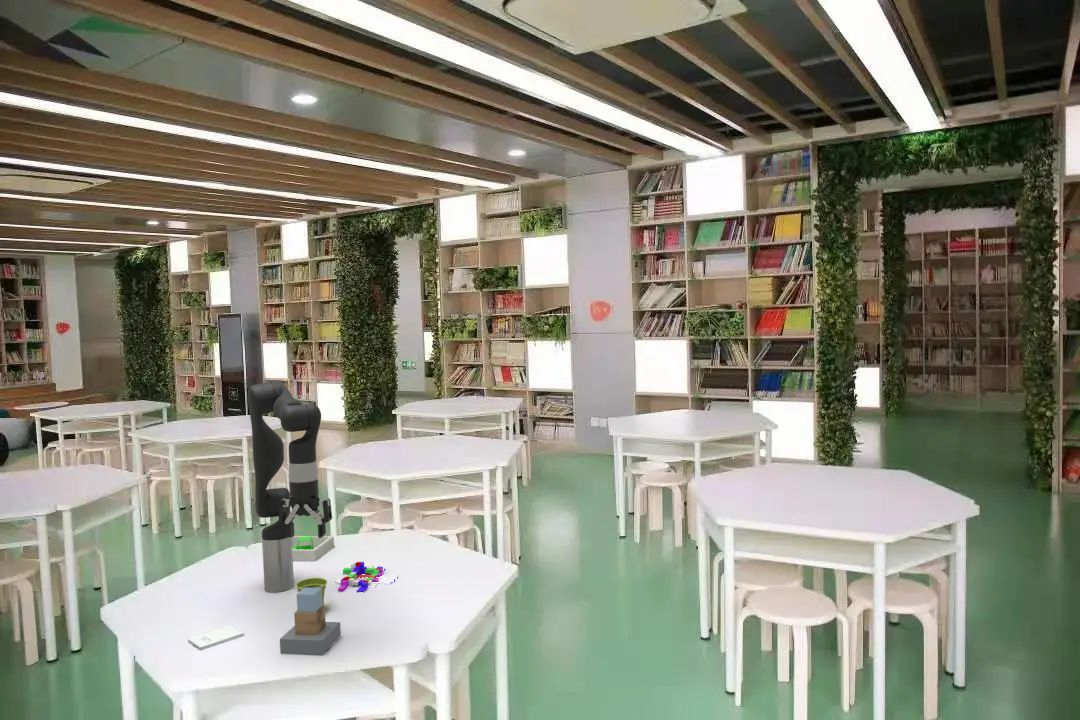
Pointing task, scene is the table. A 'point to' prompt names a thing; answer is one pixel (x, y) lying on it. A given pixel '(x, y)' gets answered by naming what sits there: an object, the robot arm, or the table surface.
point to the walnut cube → (309, 622)
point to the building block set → (357, 572)
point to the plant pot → (312, 584)
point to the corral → (312, 555)
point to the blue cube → (309, 600)
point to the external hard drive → (216, 637)
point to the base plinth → (310, 640)
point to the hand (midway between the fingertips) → (306, 536)
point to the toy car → (307, 547)
